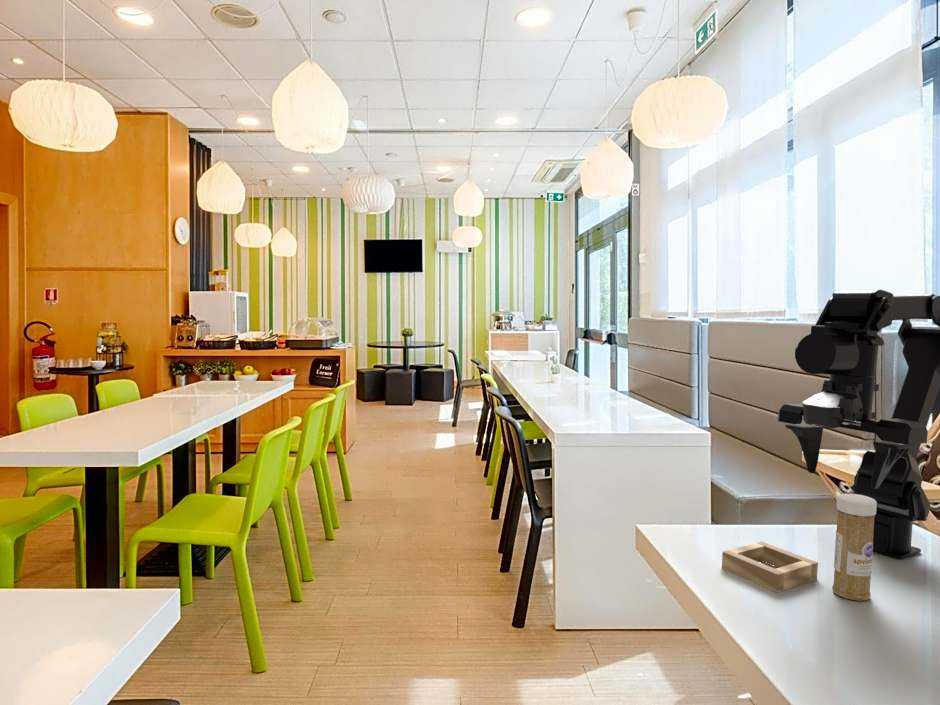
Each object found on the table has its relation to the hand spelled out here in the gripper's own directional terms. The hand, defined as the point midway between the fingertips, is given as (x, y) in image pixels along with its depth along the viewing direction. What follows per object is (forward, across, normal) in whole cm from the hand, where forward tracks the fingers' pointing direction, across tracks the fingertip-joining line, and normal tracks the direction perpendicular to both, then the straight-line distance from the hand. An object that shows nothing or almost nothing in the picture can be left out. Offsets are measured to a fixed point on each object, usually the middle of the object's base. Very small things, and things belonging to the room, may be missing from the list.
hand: (841, 480), depth 93 cm
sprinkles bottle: (+14, +6, -6) cm, 16 cm away
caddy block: (+14, -4, -10) cm, 18 cm away
